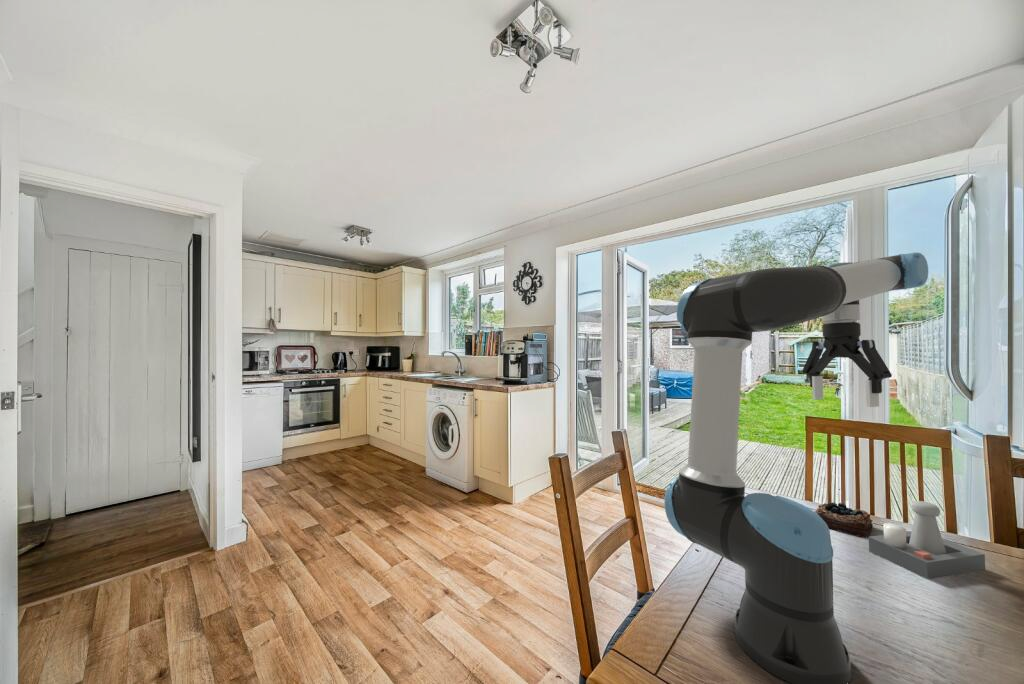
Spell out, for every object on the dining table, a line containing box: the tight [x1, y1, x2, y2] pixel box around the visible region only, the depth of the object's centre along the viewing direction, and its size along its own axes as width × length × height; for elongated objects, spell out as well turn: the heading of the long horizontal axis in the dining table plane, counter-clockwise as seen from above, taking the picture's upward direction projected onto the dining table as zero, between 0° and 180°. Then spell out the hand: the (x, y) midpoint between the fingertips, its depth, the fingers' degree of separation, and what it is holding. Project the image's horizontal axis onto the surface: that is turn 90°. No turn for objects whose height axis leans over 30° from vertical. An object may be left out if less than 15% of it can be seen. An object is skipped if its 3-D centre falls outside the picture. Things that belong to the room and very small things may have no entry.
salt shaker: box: [909, 500, 947, 555], centre depth 85 cm, size 6×6×13 cm
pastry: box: [814, 502, 874, 538], centre depth 102 cm, size 11×12×6 cm
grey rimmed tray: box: [868, 522, 986, 580], centre depth 85 cm, size 16×11×8 cm
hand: (843, 402), depth 97 cm, fingers open, 13 cm apart
